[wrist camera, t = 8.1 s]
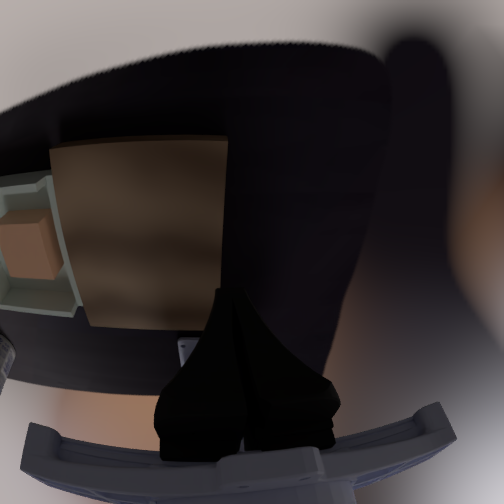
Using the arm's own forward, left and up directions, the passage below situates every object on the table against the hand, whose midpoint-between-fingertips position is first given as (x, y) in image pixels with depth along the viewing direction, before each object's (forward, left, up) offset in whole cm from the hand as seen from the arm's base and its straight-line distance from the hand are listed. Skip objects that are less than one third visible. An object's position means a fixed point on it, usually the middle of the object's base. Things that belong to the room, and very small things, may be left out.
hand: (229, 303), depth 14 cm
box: (-2, +17, -9) cm, 20 cm away
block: (-2, +16, -9) cm, 18 cm away
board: (-2, +6, -9) cm, 11 cm away
